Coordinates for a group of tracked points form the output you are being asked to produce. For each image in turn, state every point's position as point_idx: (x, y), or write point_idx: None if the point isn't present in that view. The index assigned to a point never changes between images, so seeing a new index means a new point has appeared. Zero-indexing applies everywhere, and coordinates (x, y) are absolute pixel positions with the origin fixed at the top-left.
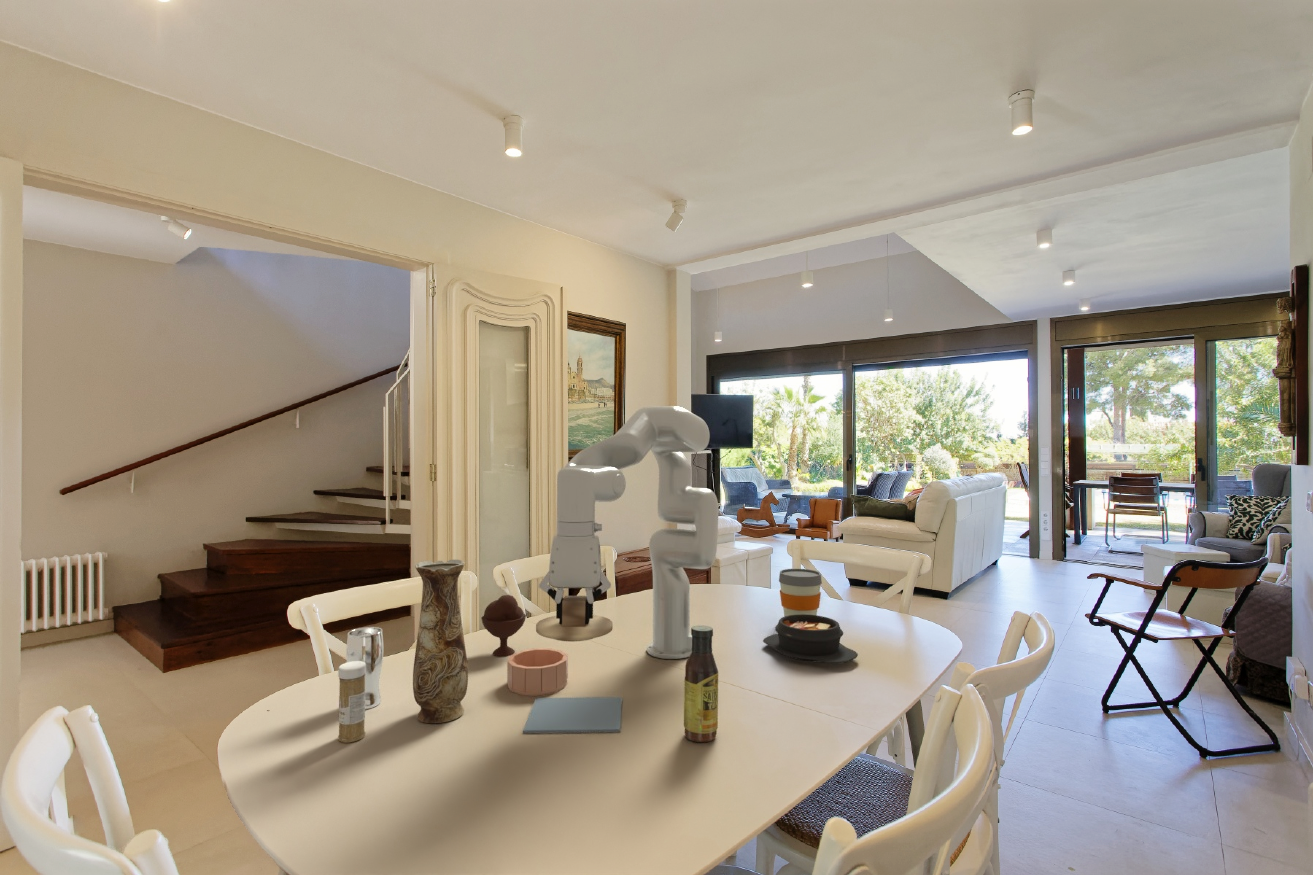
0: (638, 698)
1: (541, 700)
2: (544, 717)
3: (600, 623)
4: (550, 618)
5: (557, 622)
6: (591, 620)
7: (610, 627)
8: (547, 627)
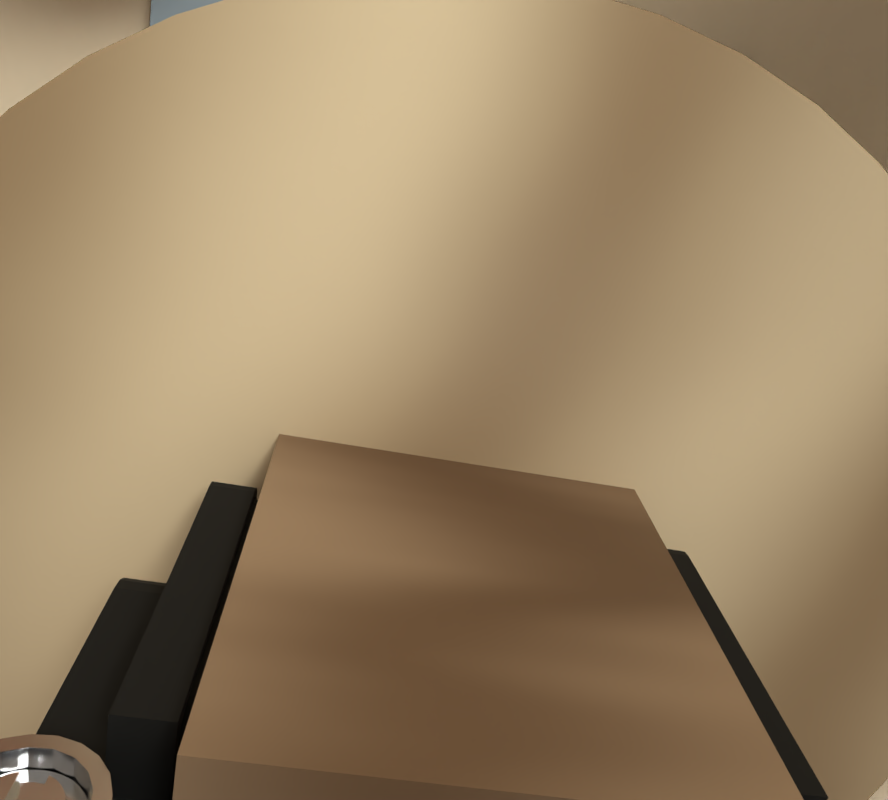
0: (868, 82)
1: (199, 4)
2: None
3: (794, 653)
4: (10, 251)
5: (160, 514)
6: (711, 487)
7: (867, 785)
8: (29, 726)
